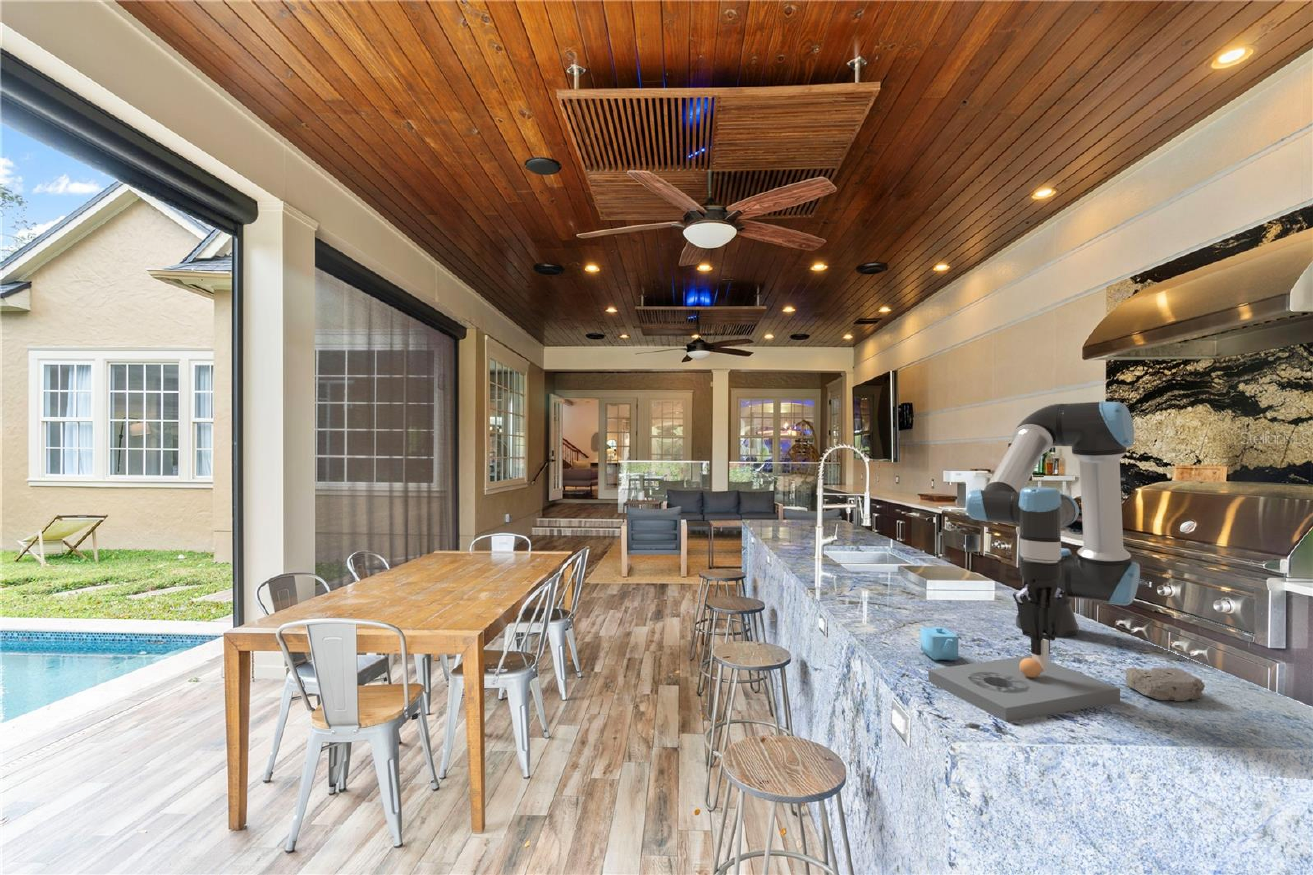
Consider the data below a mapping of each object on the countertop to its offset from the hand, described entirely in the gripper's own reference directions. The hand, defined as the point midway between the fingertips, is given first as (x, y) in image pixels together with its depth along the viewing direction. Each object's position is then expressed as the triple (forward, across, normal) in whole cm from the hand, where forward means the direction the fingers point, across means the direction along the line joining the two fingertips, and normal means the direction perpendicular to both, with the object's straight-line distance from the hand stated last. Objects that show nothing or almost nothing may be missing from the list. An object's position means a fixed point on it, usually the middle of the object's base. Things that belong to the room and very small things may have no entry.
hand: (1040, 669), depth 129 cm
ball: (0, +3, 0) cm, 3 cm away
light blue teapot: (+5, +7, -21) cm, 23 cm away
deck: (+5, +6, 0) cm, 7 cm away
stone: (+2, -24, +4) cm, 24 cm away
